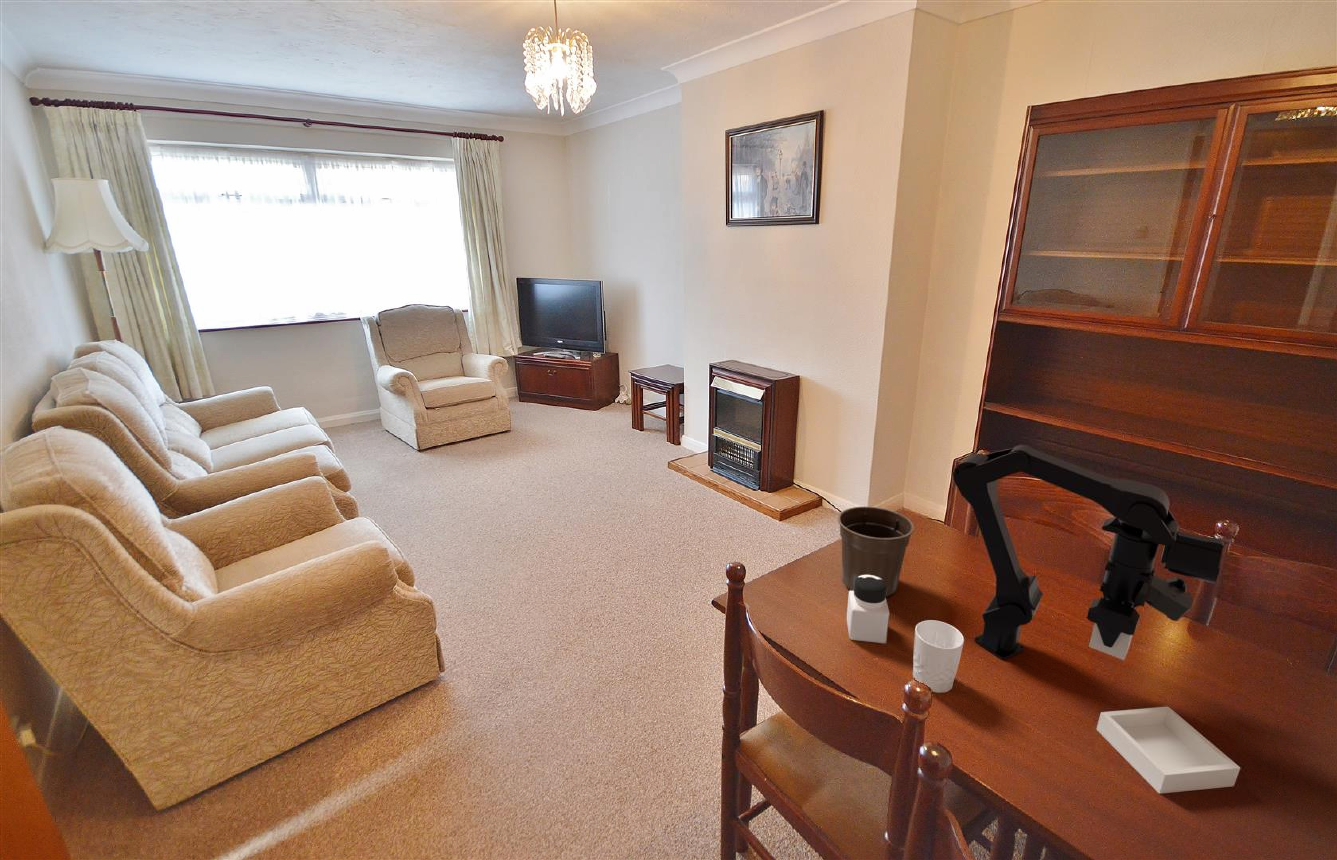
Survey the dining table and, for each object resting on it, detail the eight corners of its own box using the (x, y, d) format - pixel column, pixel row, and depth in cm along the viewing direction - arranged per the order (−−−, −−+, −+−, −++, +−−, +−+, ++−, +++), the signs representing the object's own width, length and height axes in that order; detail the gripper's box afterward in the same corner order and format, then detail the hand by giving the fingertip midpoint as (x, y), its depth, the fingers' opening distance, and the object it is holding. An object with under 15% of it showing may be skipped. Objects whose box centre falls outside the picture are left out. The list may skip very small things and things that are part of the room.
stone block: (1124, 660, 98) (1132, 630, 96) (1088, 646, 101) (1095, 617, 100) (1129, 646, 101) (1137, 616, 100) (1095, 633, 105) (1102, 604, 103)
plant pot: (847, 558, 147) (852, 499, 142) (914, 577, 138) (922, 516, 133) (822, 588, 134) (827, 526, 129) (894, 612, 125) (902, 546, 120)
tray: (1233, 786, 85) (1240, 767, 84) (1159, 793, 84) (1165, 775, 83) (1162, 723, 96) (1168, 706, 95) (1096, 729, 95) (1100, 712, 94)
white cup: (953, 670, 108) (961, 624, 105) (958, 700, 101) (966, 652, 98) (908, 661, 111) (914, 616, 108) (910, 690, 104) (916, 643, 101)
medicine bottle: (886, 644, 116) (892, 592, 112) (849, 640, 117) (854, 588, 113) (881, 622, 122) (887, 572, 118) (846, 618, 124) (850, 569, 120)
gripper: (1188, 604, 84) (1162, 691, 89) (1201, 555, 97) (1177, 634, 102) (1096, 575, 92) (1077, 657, 97) (1119, 533, 104) (1100, 608, 109)
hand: (1110, 638), depth 101 cm, fingers closed on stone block, 5 cm apart
